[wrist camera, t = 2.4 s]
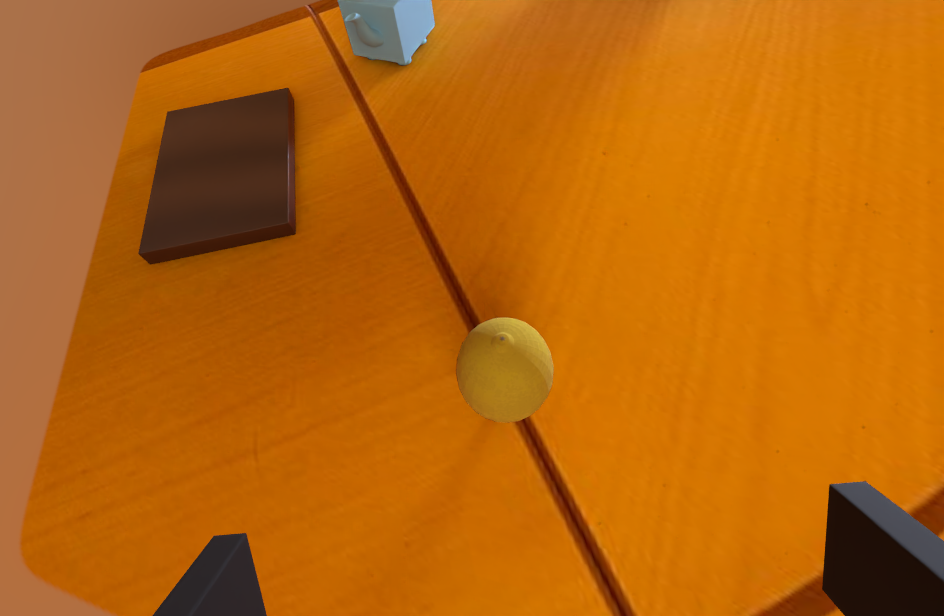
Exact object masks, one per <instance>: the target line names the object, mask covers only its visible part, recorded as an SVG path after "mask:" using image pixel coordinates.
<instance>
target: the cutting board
mask: <svg viewBox="0 0 944 616" xmlns="http://www.w3.org/2000/svg"><path fill="white" fill-rule="evenodd" d="M294 234H295V155H294V100H293V97H292V95H291V93H290V91H289V88H284V89H279V90H274V91H269V92H264V93H259V94H254V95H249V96H244V97H239V98H234V99H229V100H224V101H219V102H214V103H209V104H204V105H199V106H194V107H189V108H184V109H179V110H174V111H169V112H167V116H166V121H165V126H164V131H163V136H162V141H161V146H160V151H159V156H158V160H157V165H156V170H155V175H154V180H153V185H152V190H151V195H150V200H149V205H148V210H147V214H146V219H145V224H144V229H143V234H142V239H141V244H140V249H139V255H140V256H142V257H143V258H144V259H145V260H146V261H147V262H148V263H149V264H155V263H160V262H165V261H170V260H175V259H179V258H184V257H189V256H194V255H198V254H203V253H208V252H213V251H218V250H222V249H227V248H232V247H237V246H241V245H246V244H251V243H256V242H261V241H265V240H270V239H275V238H280V237H284V236H289V235H294Z"/></svg>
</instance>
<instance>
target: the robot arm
mask: <svg viewBox="0 0 944 616" xmlns="http://www.w3.org/2000/svg"><path fill="white" fill-rule="evenodd" d="M822 589H823V591H824V592H825V593H826V594H827V595H828V597H829V598H830V599H831V600H832V601H833V602H834V604H835V605H836V606H837V607H838V608H839V609H840V611H841V612H842V613H843V614H844V615H845V616H944V541H943V540H942V539H940V538H939V537H938V536H936V535H935V534H934V533H933V532H931V531H930V530H929V529H927V528H926V527H925V526H923V525H922V524H921V523H919V522H918V521H917V520H915V519H914V518H913V517H912V516H910V515H909V514H908V513H906V512H905V511H904V510H902V509H901V508H900V507H898V506H897V505H896V504H894V503H893V502H892V501H890V500H889V499H888V498H887V497H885V496H884V495H883V494H881V493H880V492H879V491H877V490H876V489H875V488H873V487H872V486H871V485H869V484H868V483H867V482H866V481H865V482H853V483H841V484H830V485H829V500H828V514H827V529H826V543H825V558H824V572H823V587H822ZM153 616H267V615H266V611H265V607H264V603H263V599H262V595H261V591H260V587H259V583H258V579H257V575H256V571H255V567H254V563H253V559H252V555H251V551H250V547H249V543H248V539H247V535H246V533H242V534H231V535H219V536H213V538H212V539H211V540H210V542H209V543H208V544H207V545H206V547H205V548H204V549H203V551H202V552H201V553H200V555H199V556H198V557H197V558H196V560H195V561H194V562H193V564H192V565H191V566H190V568H189V569H188V570H187V571H186V573H185V574H184V575H183V577H182V578H181V579H180V581H179V582H178V583H177V585H176V586H175V587H174V588H173V590H172V591H171V592H170V594H169V595H168V596H167V598H166V599H165V600H164V601H163V603H162V604H161V605H160V607H159V608H158V609H157V611H156V612H155V613H154V614H153Z"/></svg>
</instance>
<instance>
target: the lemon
mask: <svg viewBox="0 0 944 616" xmlns="http://www.w3.org/2000/svg"><path fill="white" fill-rule="evenodd" d="M553 371H554V368H553V363H552V357H551V353H550V351H549V349H548V347H547V345H546V343H545V341H544V339H543V338H542V336H541V335H540V334H539V333H538V332H537V331H536V330H535V329H534V328H533V327H531V326H530V325H528V324H527V323H525V322H523V321H520V320H518V319H513V318H507V317H505V318H494V319H491V320H488V321H485V322H483V323H481V324H480V325H478V326H477V327H475V328H474V329H473V330H472V331H471V332H470V333H469V334H468V336H467V337H466V339H465V340H464V342H463V343H462V345H461V348H460V351H459V354H458V357H457V369H456V375H457V380H458V385H459V389H460V391H461V393H462V395H463V397H464V399H465V400H466V402H467V403H468V404H469V405H470V406H471V407H472V409H473V410H474V411H475V412H477V413H478V414H480V415H481V416H483V417H485V418H487V419H490V420H493V421H496V422H505V423H509V422H515V421H520V420H522V419H524V418H526V417H529V416H530V415H531V414H533V413H534V412H535V411H537V410H538V409H539V408H540V407H541V405H542V404H543V402H544V401H545V400H546V398H547V397H548V394H549V391H550V389H551V386H552V382H553Z"/></svg>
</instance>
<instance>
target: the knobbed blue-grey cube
mask: <svg viewBox="0 0 944 616" xmlns="http://www.w3.org/2000/svg"><path fill="white" fill-rule="evenodd" d="M338 3H339V7H340V10H341V13H342V17H343V20H344V23H345V26H346V30H347V33H348V36H349V40H350V43H351V46H352V49H353V53H354V55H358V56H363V57H367V58H368V59H370V60H376V59H380V60H386V61H391V62H397V63H398V64H399V65H408V64H409V63H411V61H412V60H411V56H412V55H413V53H414V52H415V51H416V50H417V48H418V47H419V46H420V45H423V44H425V43H426V41H427V40H426V39H425V38H426V36H427V35H428V34H429V33H430V31H431V30H432V29H433V27H434V26H435V22H434V16H433V9H432V2H431V0H338Z"/></svg>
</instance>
